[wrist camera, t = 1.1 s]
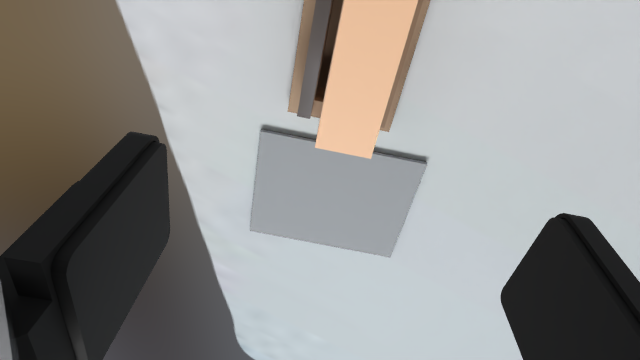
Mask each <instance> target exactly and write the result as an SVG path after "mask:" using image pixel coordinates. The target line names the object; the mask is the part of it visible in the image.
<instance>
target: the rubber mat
mask: <svg viewBox="0 0 640 360" xmlns="http://www.w3.org/2000/svg"><path fill="white" fill-rule="evenodd" d="M315 143H316V140H313V139H308V138H303V137H298V136H293V135H288V134H283V133H278V132H273V131H268V130H263V129H261V133H260V142H259V151H258V160H257V169H256V178H255V188H254V197H253V206H252V215H251V224H250V231H253V232H259V233H264V234H269V235H274V236H280V237H285V238H290V239H295V240H301V241H306V242H311V243H317V244H322V245H327V246H332V247H338V248H343V249H348V250H353V251H359V252H364V253H369V254H374V255H380V256H385V257H391V254H392V252H393V249H394V247H395V244H396V242H397V239H398V237H399V234H400V231H401V229H402V226H403V224H404V221H405V219H406V216H407V214H408V211H409V209H410V206H411V204H412V201H413V199H414V196H415V194H416V191H417V189H418V186H419V184H420V181H421V179H422V176H423V174H424V171H425V169H426V166H427V163H426V162H423V161H418V160H413V159H408V158H403V157H398V156H393V155H388V154H383V153H378V152H373V153H372V157H371V159H369V158H364V157H359V156H354V155H349V154H344V153H339V152H334V151H329V150H324V149H319V148H315Z"/></svg>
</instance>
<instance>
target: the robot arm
mask: <svg viewBox="0 0 640 360" xmlns="http://www.w3.org/2000/svg"><path fill="white" fill-rule="evenodd" d="M168 196H169V195H168V173H167V150H166V146H165V144H162V143H159V140H158V138H157V137H156V136H152V135H147V134H142V133H136V132H129V133H128V134H127V135H126V136H125V137H124V138H123V139H122V140H121V141H120V142H119V143H118V144H117V145H115V146H114V148H113V149H111V150H110V152H108V153H107V154H106V155H105V156H104V157H103V158H102V159H101V160H100V162H98V163H97V164H96V165H95V166H94V167H93V168H92V169H91V170H90V171H89V172H88V173H87V174H86V175H85V176H84V177H83V178H82V179H81V180H80V181H78V182H76V183H75V184H74V185H72V186H71V187H70V188H69V189H68V190H67V191H66V192H65V193H64V194H63V195H62V196H61V197H60V198H59V199H58V200H57V201H56V202H55V203H54V204H53V205H52V206H51V207H50V208H49V209H48V210H47V211H46V212H45V213H44V214H43V215H42V216H41V217H40V218H39V219H38V220H37V221H36V222H35V223H34V224H33V225H31V226H30V228H28V230H26V231H25V233H23V234H22V235H21V236H20V237H19V238H18V239H17V240H16V241H15V242H14V243H13V244H12V245H11V246H10V247H9V248H8V249H7V250H6V251H5V252H4V253H3V254H2V255H1V256H0V360H102V359H103V358H104V356H105V354H106V352H107V351H108V349H109V347H110V345H111V343H112V342H113V340H114V338H115V336H116V334H117V333H118V331H119V329H120V327H121V325H122V323H123V321H124V320H125V318H126V316H127V314H128V313H129V311H130V309H131V307H132V305H133V304H134V302H135V300H136V298H137V296H138V295H139V293H140V291H141V289H142V287H143V285H144V284H145V282H146V280H147V278H148V276H149V275H150V273H151V271H152V269H153V268H154V266H155V264H156V262H157V260H158V259H159V257H160V255H161V253H162V251H163V250H164V248H165V246H166V244H167V242H168V238H169V234H170V219H169V197H168ZM501 303H502V306H503V309H504V311H505V314H506V316H507V319H508V321H509V324H510V327H511V329H512V332H513V334H514V337H515V340H516V342H517V345H518V347H519V350H520V353H521V355H522V358H523V360H640V282H639V281H638V280H637V278H636V277H635V276H634V275H633V273H632V272H631V271H630V269H629V268H628V267H627V266H626V264H625V263H624V262H623V260H622V259H621V258H620V257H619V255H618V254H617V253H616V251H615V250H614V249H613V248H612V246H611V245H610V244H609V243H608V241H607V240H606V239H605V237H604V236H603V235H602V234H601V232H600V231H599V230H598V228H597V227H596V226H595V225H594V223H593V222H592V221H591V220H590V219H589V218H586V217H581V216H576V215H571V214H566V213H562V214H559V215H557V216H556V217H555V218H551V219H549V221H548V222H547V223H546V225H545V226H544V228H543V229H542V231H541V232H540V234H539V235H538V237H537V238H536V240H535V241H534V243H533V244H532V246H531V247H530V249H529V250H528V252H527V253H526V255H525V256H524V258H523V259H522V261H521V262H520V264H519V265H518V267H517V268H516V270H515V271H514V273H513V274H512V276H511V277H510V279H509V280H508V282H507V283H506V285H505V286H504V288H503V289H502V292H501Z"/></svg>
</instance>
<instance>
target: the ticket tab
mask: <svg viewBox="0 0 640 360" xmlns="http://www.w3.org/2000/svg"><path fill="white" fill-rule="evenodd" d="M417 3H418V0H343V3H342V8H341V13H340V18H339V23H338V28H337V33H336V38H335V43H334V48H333V53H332V58H331V63H330V68H329V73H328V78H327V83H326V89H325V94H324V100H323V105H322V111H321V116H320V122H319V127H318V132H317V138H316V143H315V148H319V149H324V150H329V151H334V152H339V153H344V154H349V155H354V156H359V157H364V158H369V159H371V157H372V153H373V150H374V147H375V143H376V140H377V137H378V133H379V130H380V127H381V123H382V120H383V117H384V113H385V110H386V107H387V103H388V100H389V97H390V93H391V90H392V86H393V83H394V80H395V76H396V73H397V70H398V66H399V63H400V60H401V56H402V53H403V50H404V46H405V43H406V40H407V36H408V33H409V30H410V26H411V23H412V20H413V16H414V13H415V10H416V6H417Z"/></svg>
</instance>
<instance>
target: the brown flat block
mask: <svg viewBox="0 0 640 360" xmlns="http://www.w3.org/2000/svg"><path fill="white" fill-rule="evenodd" d="M342 3H343V0H304V5H303V12H302V19H301V25H300V32H299V39H298V46H297V52H296V59H295V66H294V73H293V79H292V86H291V93H290V100H289V106H288V112H293V113H297V116H299V117H304V118H309V119H310V116H312V117H317V118H320V116H321V111H322V105H323V100H324V94H325V89H326V83H327V78H328V73H329V68H330V63H331V58H332V53H333V48H334V43H335V38H336V33H337V28H338V23H339V18H340V13H341V8H342ZM429 3H430V0H418V3H417V6H416V10H415V13H414V16H413V20H412V23H411V26H410V30H409V33H408V36H407V40H406V43H405V46H404V50H403V53H402V56H401V60H400V63H399V66H398V70H397V73H396V76H395V80H394V83H393V86H392V90H391V93H390V97H389V100H388V103H387V107H386V110H385V113H384V117H383V120H382V123H381V127H380V130H382V131H387V132H389V130H390V127H391V124H392V121H393V117H394V114H395V111H396V108H397V105H398V101H399V98H400V95H401V92H402V89H403V86H404V82H405V79H406V76H407V73H408V70H409V67H410V63H411V60H412V57H413V54H414V51H415V48H416V44H417V41H418V38H419V35H420V32H421V28H422V25H423V22H424V19H425V16H426V13H427V9H428V6H429Z"/></svg>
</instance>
